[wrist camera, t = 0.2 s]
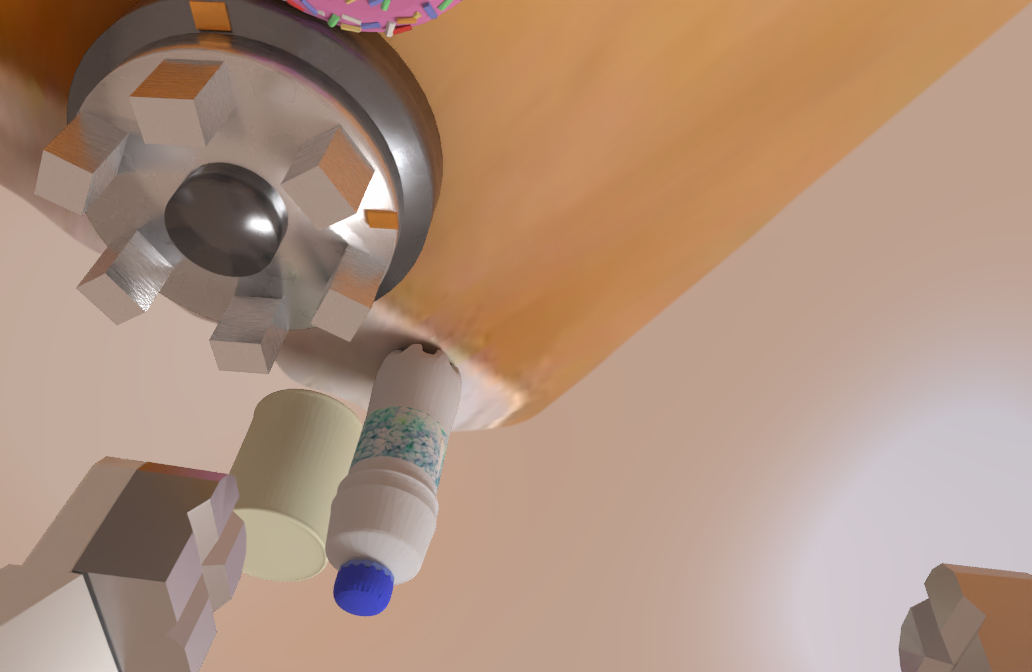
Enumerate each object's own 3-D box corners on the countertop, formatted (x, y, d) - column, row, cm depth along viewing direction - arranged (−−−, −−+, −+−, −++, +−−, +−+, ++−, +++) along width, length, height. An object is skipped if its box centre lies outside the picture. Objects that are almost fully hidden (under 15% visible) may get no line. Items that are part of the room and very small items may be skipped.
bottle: (389, 398, 67) (318, 636, 52) (370, 333, 62) (287, 574, 48) (474, 398, 66) (426, 641, 51) (461, 333, 61) (404, 579, 47)
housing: (46, -36, 46) (5, -8, 43) (430, -21, 45) (415, 10, 42) (156, 271, 60) (131, 309, 57) (451, 291, 59) (441, 331, 56)
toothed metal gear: (42, 24, 44) (-30, 82, 39) (391, 40, 43) (359, 102, 38) (145, 295, 56) (99, 364, 51) (419, 314, 55) (398, 387, 50)
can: (246, 381, 67) (186, 506, 58) (362, 395, 67) (319, 523, 58) (263, 456, 74) (212, 580, 65) (369, 469, 73) (332, 595, 64)
